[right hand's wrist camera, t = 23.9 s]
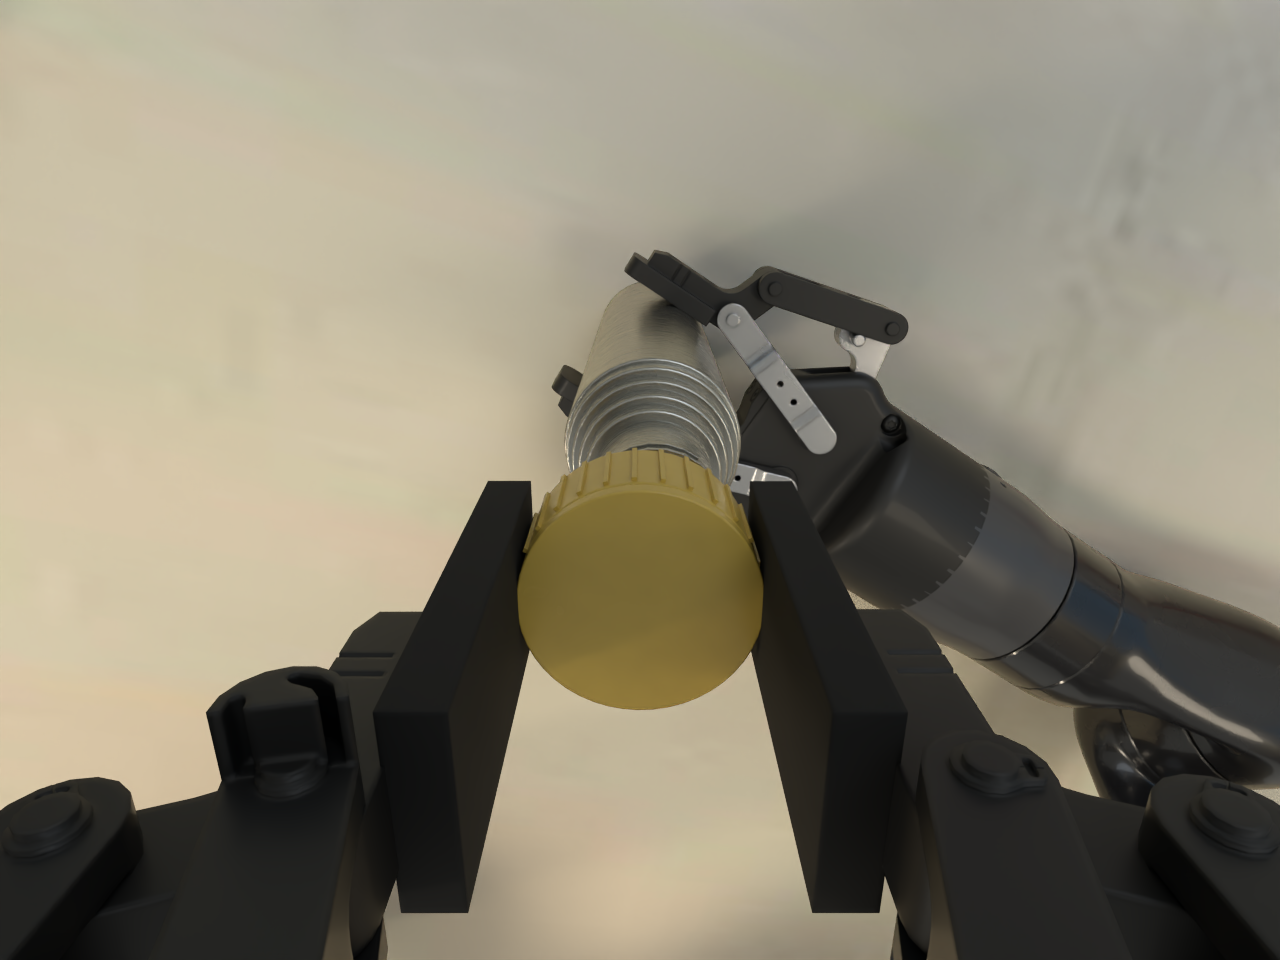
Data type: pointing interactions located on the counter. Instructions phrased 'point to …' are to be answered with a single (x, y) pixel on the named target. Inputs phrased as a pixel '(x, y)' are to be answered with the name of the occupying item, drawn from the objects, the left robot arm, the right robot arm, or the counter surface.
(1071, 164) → the counter surface
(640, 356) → the bottle
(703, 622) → the cap
